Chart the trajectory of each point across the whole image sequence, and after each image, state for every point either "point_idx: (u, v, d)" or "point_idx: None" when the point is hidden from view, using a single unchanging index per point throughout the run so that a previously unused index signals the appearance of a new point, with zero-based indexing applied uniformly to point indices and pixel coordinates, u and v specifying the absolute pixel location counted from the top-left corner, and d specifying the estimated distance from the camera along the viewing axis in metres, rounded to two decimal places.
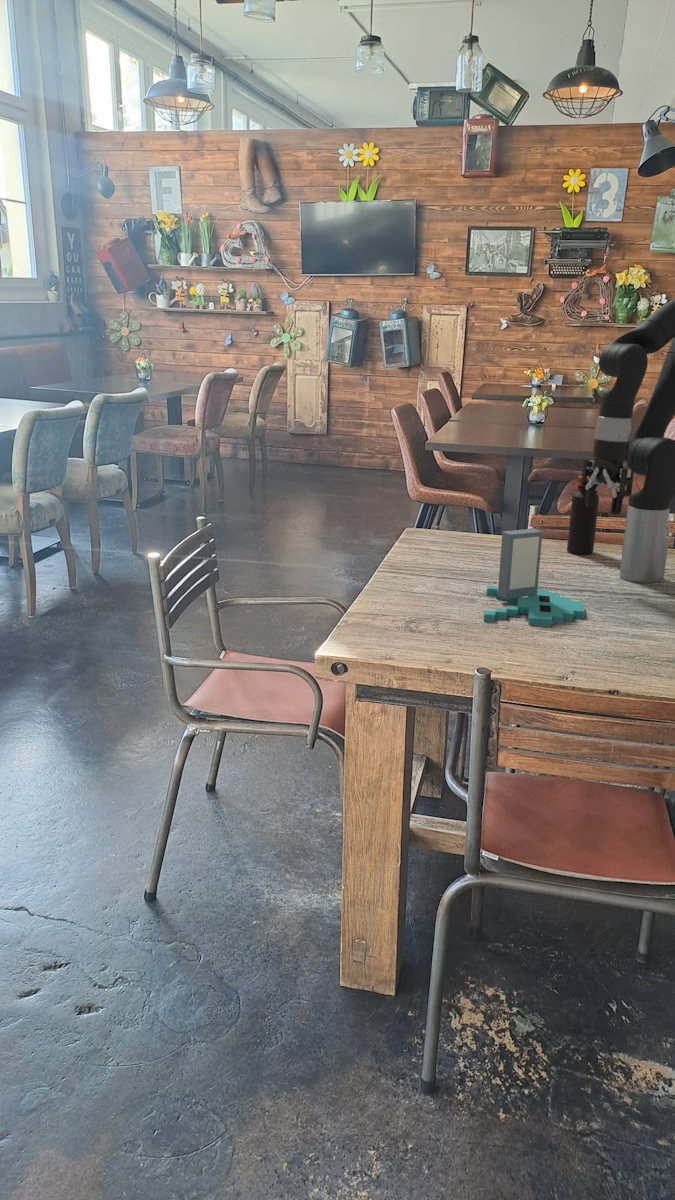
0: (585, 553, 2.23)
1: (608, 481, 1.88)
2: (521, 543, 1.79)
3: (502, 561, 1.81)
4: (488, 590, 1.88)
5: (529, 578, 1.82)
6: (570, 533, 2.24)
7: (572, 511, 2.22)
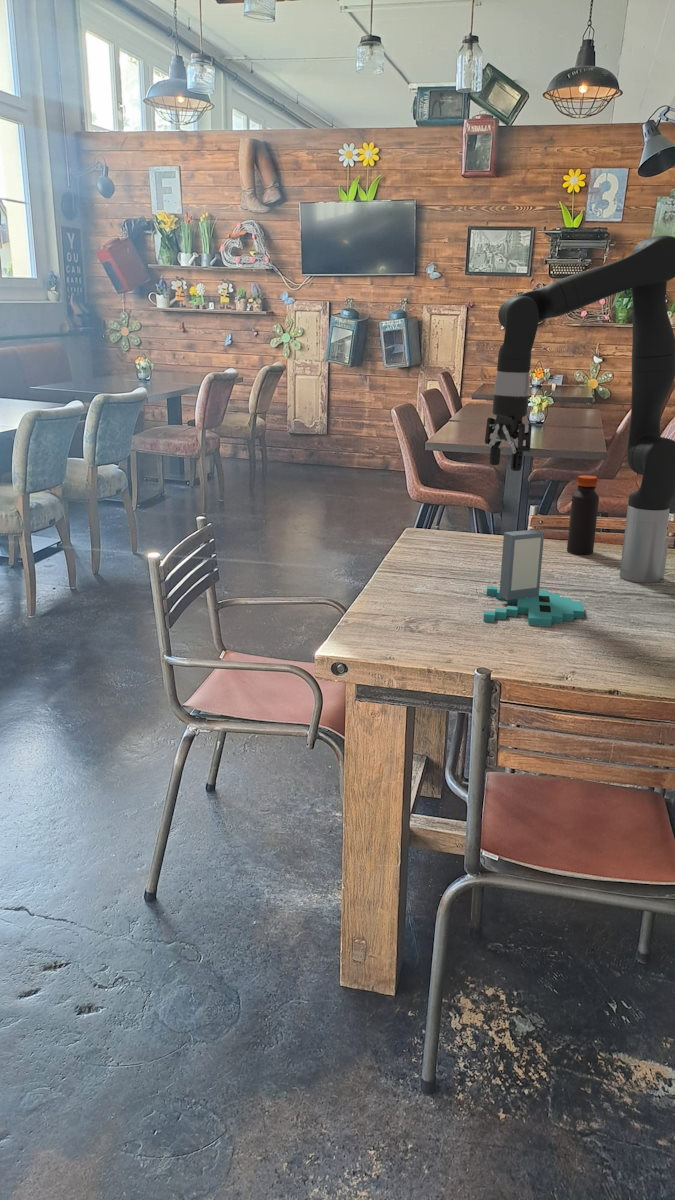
0: (585, 553, 2.23)
1: (507, 437, 1.86)
2: (523, 544, 1.78)
3: (504, 562, 1.80)
4: (488, 590, 1.88)
5: (531, 579, 1.82)
6: (570, 533, 2.24)
7: (572, 511, 2.22)
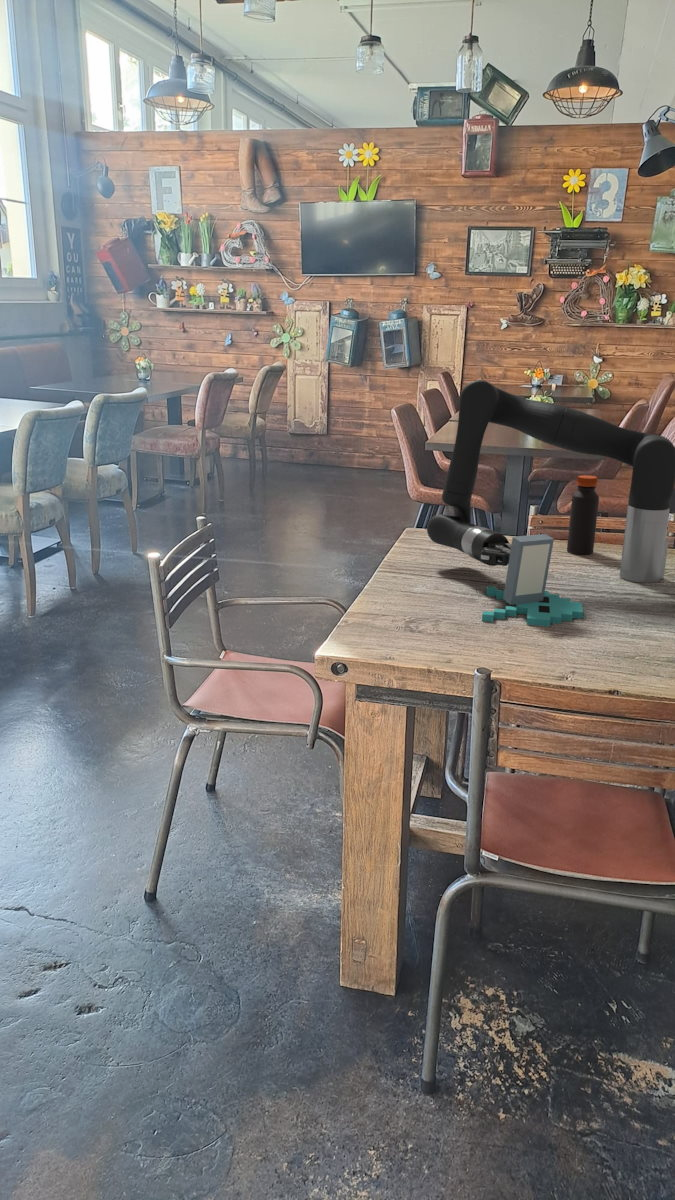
0: (585, 553, 2.23)
1: None
2: (531, 550, 1.74)
3: (510, 566, 1.77)
4: (488, 590, 1.88)
5: (536, 584, 1.78)
6: (570, 533, 2.24)
7: (572, 511, 2.22)
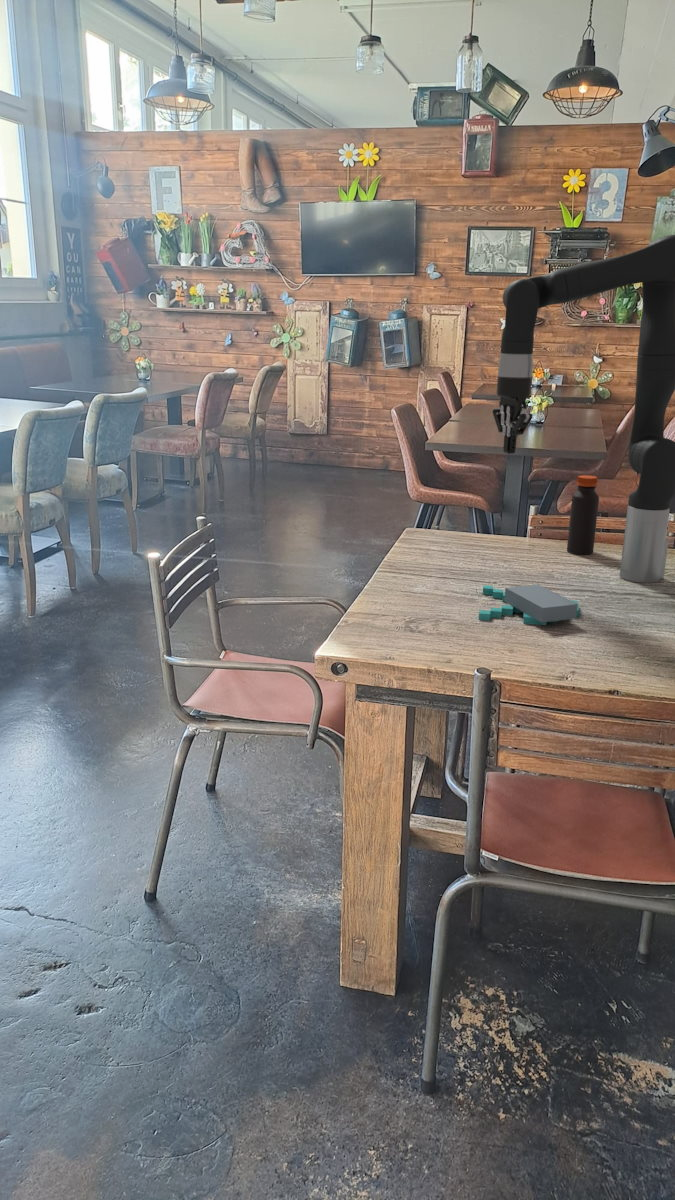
0: (585, 553, 2.23)
1: (507, 419, 1.92)
2: None
3: (525, 602, 1.72)
4: (484, 589, 1.89)
5: None
6: (570, 533, 2.24)
7: (572, 511, 2.22)
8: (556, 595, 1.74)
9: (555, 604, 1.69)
